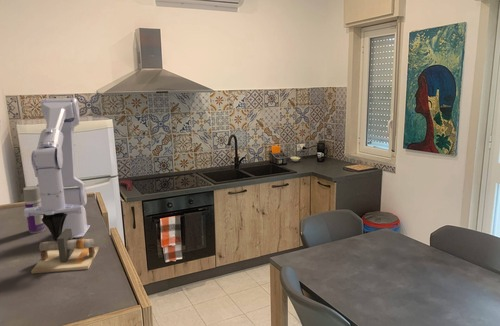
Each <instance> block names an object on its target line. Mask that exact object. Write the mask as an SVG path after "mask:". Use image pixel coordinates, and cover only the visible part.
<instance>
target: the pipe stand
mask: <svg viewBox="0 0 500 326" xmlns="http://www.w3.org/2000/svg"><path fill="white" fill-rule="evenodd" d="M38 247H39V251H40V253H39V254H40V258H41V259H39V260H38V262H37V263H36V265H35V266H34V267H33V268H32V269H31V274H32V275H33V274H43V273H44V274H45V273H55V272H56V273H58V272H67V271H68V272H69V271H78V270H89V269H90V266H91V265H92V262H93V261H94V260H95V257H96V255H97V253H98V252H99V250H100V247H99V246H95V241H94V238H78V239H73V240H67V249H74V251H73V253H72V254H71V256H70V257H69V259H68V260H67V262H60V257H59V249H58V242H57V241H54V240H53V241H52V240H51V241H42V242H40V243H39V246H38Z"/></svg>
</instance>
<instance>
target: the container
mask: <svg viewBox="0 0 500 326" xmlns="http://www.w3.org/2000/svg"><path fill="white" fill-rule="evenodd" d="M22 189H23V199H24V201H23V202H24V209H26V208H32V207H39V206H41V200H40V193H39V186H38V185H31V186H30V185H29V186H26V187H23V188H22ZM42 218H43V215H37V216H29V217H26V220H27V227H28V233H29V234H39V233H42V232H44V231H45V230H46V228H45V226H46V225H45V224H44V223H43V222H42Z"/></svg>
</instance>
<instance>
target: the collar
mask: <svg viewBox="0 0 500 326" xmlns="http://www.w3.org/2000/svg"><path fill="white" fill-rule="evenodd" d="M67 240H74V238H72V230H71V229H65V230H64V231H63V232H62V234H61V235H60V236H59V237H58V238H57V242H58V249H59V257H60V262H67V260H68V259H69V257H70V256H71V254H72V253H73V251H74V249H67Z"/></svg>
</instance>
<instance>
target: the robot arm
mask: <svg viewBox="0 0 500 326" xmlns="http://www.w3.org/2000/svg"><path fill="white" fill-rule="evenodd" d="M40 103H41V104H40V109H41V115H42V116H43V118H44V119H45V122H46V125H45V126H46V127H45V129H43V130H42V131H41V132H40V134H39V138H38V143H37V146H36V148H35V149H34V150H32V151H31V156H30V159H31V160H30V161H31V165H32V168H33V171H34V176H35V177H36V178H37V186H38V187H39V193H40V200H41V206H39V207H32V208H24V210H23V217H24V218H27V217H29V216H37V215H43V218H42V222H43V223H44V226H46V228H47V229H48V230H49V232H50V234H51V236H52V238H53V241H57V238H58V237H59V236H60V235H61V234H62V232H63V231H64V230H65V229H71V230H72V238H73V239H74V238H78V239H79V238H83V237H84V236H85V235H86V233H87V231H88V230H89V228H90V227H91V225H90V224H88V221H87V212H86V208H85V206H86V205H87V202H88V198H87V197H88V196H87V195H88V194H87V189H86V188H87V187H86V184H85V182H84V181H83V180H81V179H80V178H77V177H76V164H75V163H76V161H75V143H74V142H75V141H74V132H75V127H77V126H79V125H80V105H79V101H78V99H77V98H76V97H71V98H70V97H69V98H67V97H66V98H65V97H64V98H63V97H62V98H60V97H59V98H56V97H55V98H46V97H44V98H43V99H42V100H41V102H40Z"/></svg>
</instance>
